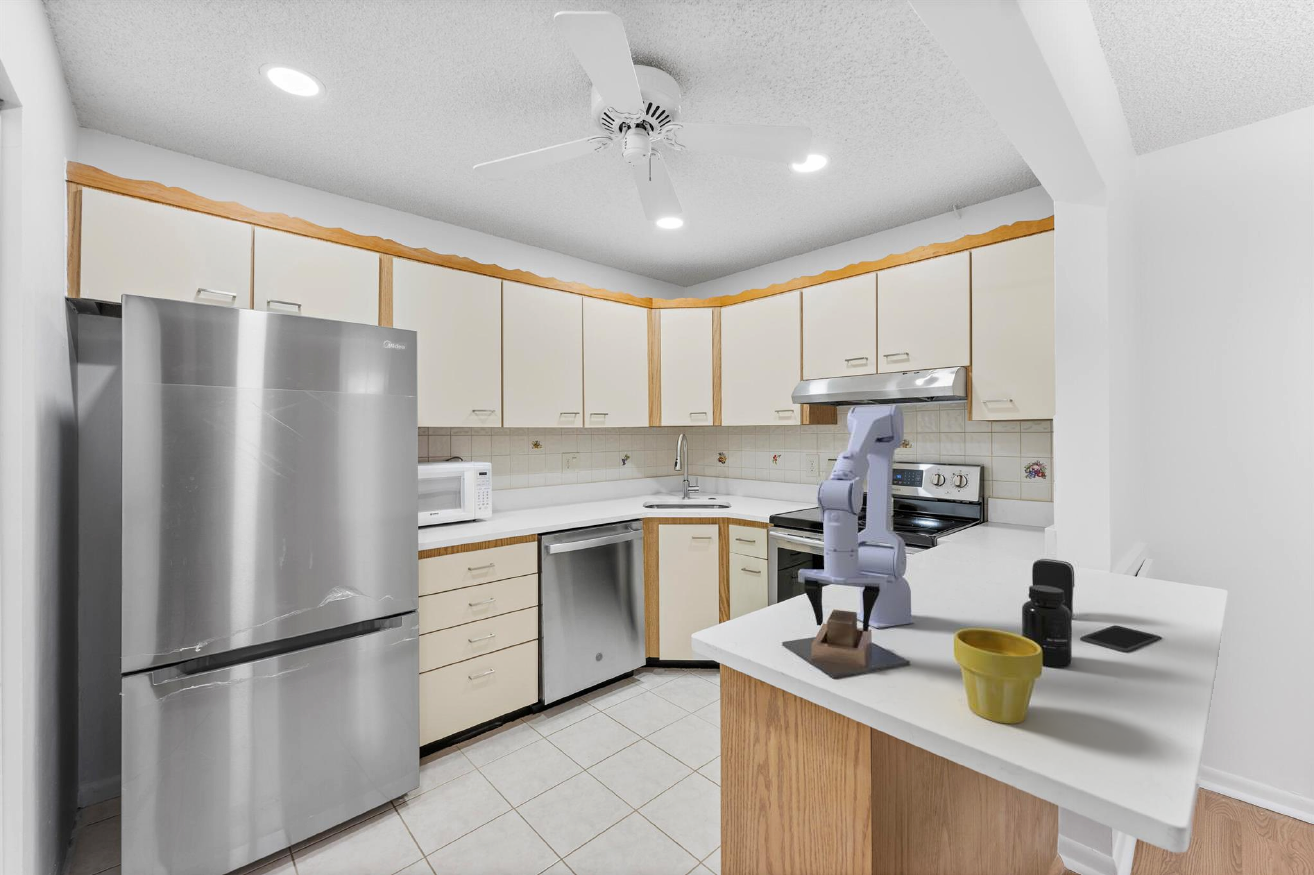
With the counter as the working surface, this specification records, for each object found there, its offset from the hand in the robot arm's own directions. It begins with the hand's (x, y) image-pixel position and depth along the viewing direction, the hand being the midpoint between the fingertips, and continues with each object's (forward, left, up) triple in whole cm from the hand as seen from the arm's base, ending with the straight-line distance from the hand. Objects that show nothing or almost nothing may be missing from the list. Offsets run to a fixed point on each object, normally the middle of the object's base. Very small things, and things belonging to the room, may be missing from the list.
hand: (842, 626), depth 96 cm
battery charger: (-54, -2, -5) cm, 54 cm away
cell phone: (-51, +12, -5) cm, 53 cm away
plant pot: (-7, +24, -5) cm, 26 cm away
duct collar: (0, 0, -5) cm, 5 cm away
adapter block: (0, 0, -4) cm, 4 cm away
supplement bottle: (-30, +14, -5) cm, 33 cm away
